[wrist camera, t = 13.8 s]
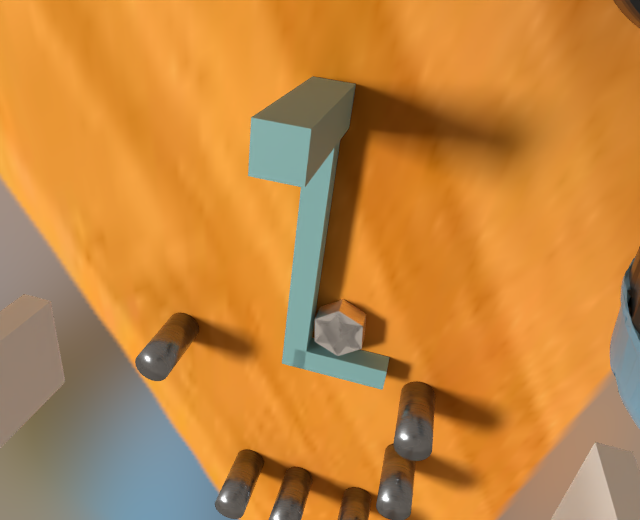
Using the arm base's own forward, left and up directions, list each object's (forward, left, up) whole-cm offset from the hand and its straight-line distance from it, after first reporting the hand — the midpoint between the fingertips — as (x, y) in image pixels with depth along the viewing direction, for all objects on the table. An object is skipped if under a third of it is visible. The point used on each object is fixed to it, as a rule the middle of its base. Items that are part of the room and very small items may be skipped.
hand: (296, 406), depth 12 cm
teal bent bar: (+2, +10, -27) cm, 28 cm away
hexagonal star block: (+2, +17, -27) cm, 32 cm away
